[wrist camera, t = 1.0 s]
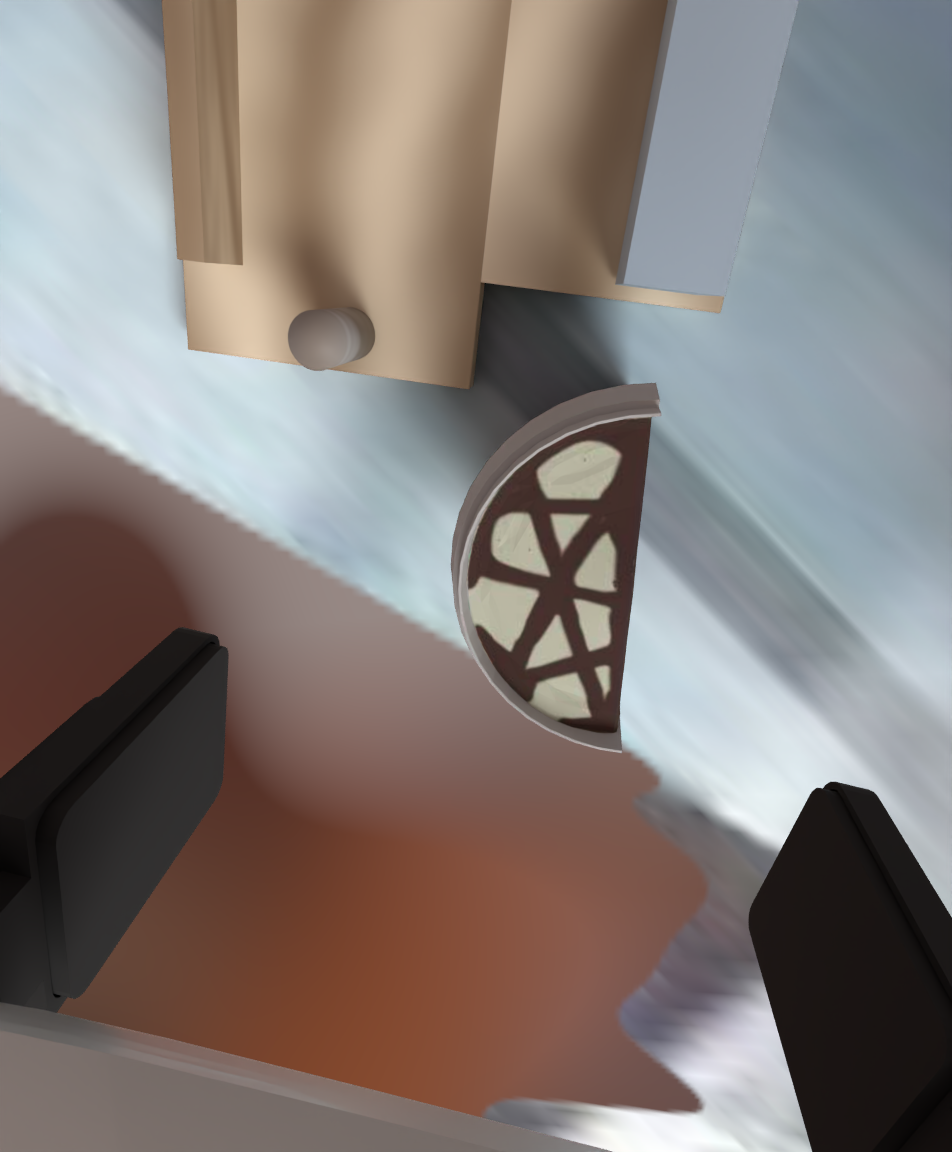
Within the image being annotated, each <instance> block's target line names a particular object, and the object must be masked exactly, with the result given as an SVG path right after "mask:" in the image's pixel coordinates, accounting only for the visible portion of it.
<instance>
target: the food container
mask: <svg viewBox="0 0 952 1152" xmlns="http://www.w3.org/2000/svg"><path fill="white" fill-rule="evenodd" d="M659 402H660V399H659V395H658V390H657V386H656V383H646V384H631V385H621V386H616V387H612V388H607V389H602V390H598V391H593V392H589V393H587V394H584V395H581V396H579V397H576V398H574V399H571V400H568V401H566V402H563V403H560V404H558V405H557V406H555V407H553V408H551V409H550V410H548V411H546V412H544V413H543V414H541V415H539V416H537V417H536V418H534V419H532V420H531V421H529V422H528V423H527V424H526V425H524V426H523V427H522V428H521V429H519V430H518V431H517V432H516V433H514V434H513V435H512V436H511V437H509V438H508V439H507V440H506V441H505V442H504V443H503V444H502V445H501V447H500V448H499V449H498V450H497V451H496V452H495V453H494V454H493V455H492V456H491V458H490V459H489V460H488V461H487V462H486V463H485V465H484V467H483V468H482V470H481V471H480V473H479V474H478V476H477V477H476V479H475V480H474V482H473V484H472V485H471V487H470V489H469V491H468V494H467V496H466V498H465V500H464V503H463V505H462V507H461V510H460V512H459V516H458V520H457V524H456V528H455V532H454V536H453V543H452V557H451V571H452V582H453V593H454V604H455V609H456V613H457V617H458V621H459V625H460V628H461V632H462V634H463V636H464V639H465V641H466V643H467V645H468V648H469V650H470V652H471V654H472V656H473V657H474V659H475V661H476V662H477V664H478V665H479V667H480V668H481V670H482V671H483V673H484V674H485V676H486V677H487V678H488V680H489V682H490V683H491V684H492V685H493V687H494V688H495V689H496V690H497V691H498V692H499V693H500V694H501V695H502V696H503V698H504V699H505V700H506V701H507V702H508V703H509V704H511V705H512V706H513V707H514V708H515V709H517V710H518V711H519V712H520V713H522V714H523V715H524V716H525V717H526V718H528V719H529V720H531V721H533V722H534V723H536V724H538V725H539V726H541V727H542V728H544V729H546V730H547V731H549V732H551V733H554V734H556V735H558V736H561V737H563V738H565V739H567V740H570V741H572V742H575V743H579V744H582V745H585V746H589V747H592V748H596V749H601V750H606V751H613V752H619V753H622V744H621V729H620V697H621V688H622V679H623V671H624V663H625V654H626V644H627V636H628V628H629V620H630V613H631V605H632V597H633V588H634V577H635V567H636V556H637V547H638V538H639V530H640V521H641V512H642V503H643V494H644V485H645V476H646V467H647V458H648V448H649V438H650V427H651V417H656V416H661V411H660V409H659Z"/></svg>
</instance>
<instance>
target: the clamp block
mask: <svg viewBox="0 0 952 1152" xmlns="http://www.w3.org/2000/svg"><path fill="white" fill-rule="evenodd" d="M798 2H799V0H668V3H667V8H666V14H665V19H664V24H663V30H662V35H661V40H660V46H659V51H658V57H657V62H656V67H655V73H654V78H653V84H652V89H651V94H650V100H649V105H648V110H647V116H646V121H645V127H644V132H643V137H642V143H641V148H640V153H639V159H638V164H637V170H636V175H635V180H634V186H633V191H632V197H631V202H630V207H629V213H628V218H627V223H626V229H625V234H624V240H623V245H622V250H621V256H620V261H619V266H618V272H617V277H616V283H615V285H622V286H630V287H637V288H645V289H653V290H661V291H669V292H677V293H685V294H692V295H705V296H725V295H726V291H727V287H728V283H729V279H730V275H731V271H732V267H733V263H734V259H735V255H736V251H737V247H738V243H739V239H740V235H741V231H742V227H743V223H744V219H745V215H746V211H747V207H748V203H749V199H750V195H751V191H752V187H753V183H754V179H755V175H756V171H757V167H758V163H759V159H760V155H761V151H762V147H763V143H764V139H765V135H766V131H767V127H768V123H769V119H770V115H771V111H772V107H773V103H774V99H775V95H776V91H777V87H778V83H779V79H780V75H781V71H782V67H783V63H784V59H785V55H786V51H787V47H788V43H789V39H790V35H791V31H792V27H793V22H794V18H795V14H796V10H797V6H798Z"/></svg>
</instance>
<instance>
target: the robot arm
mask: <svg viewBox="0 0 952 1152" xmlns="http://www.w3.org/2000/svg"><path fill="white" fill-rule="evenodd" d="M227 676H228V650H227V648H226V647H223V646H220V645H219V640H218V637H217V636H215V635H212V634H209V633H204V632H200V631H196V630H192V629H188V628H183V627H182V628H178V629H176V630H175V631H173V632H172V633H171V634H170V635H169V636H168V637H167V638H165V639H164V640H163V641H162V642H161V643H160V644H159V645H158V646H156V647H155V648H154V649H153V650H152V651H151V652H150V653H148V655H146V656H145V657H144V658H143V659H142V660H141V661H139V662H138V663H137V664H136V665H135V666H134V667H133V668H132V669H130V670H129V671H128V672H127V673H126V674H125V675H124V676H123V677H121V678H120V679H119V680H118V681H117V682H116V683H115V684H114V685H112V686H111V687H110V688H109V689H108V690H107V691H106V692H105V693H103V694H102V695H101V696H100V697H95V698H94V699H92V700H91V701H89V702H88V703H86V704H85V705H84V706H83V707H82V708H80V709H79V710H78V711H77V712H76V713H75V714H74V715H72V716H71V717H70V718H69V719H68V720H67V721H66V722H64V723H63V724H62V725H61V726H60V727H59V728H57V729H56V730H55V731H54V732H53V733H52V734H51V735H50V736H48V737H47V738H46V739H45V740H44V741H43V742H41V743H40V744H39V745H38V746H37V747H36V748H35V749H33V750H32V751H31V752H30V753H29V754H28V755H27V756H25V757H24V758H23V759H22V760H21V761H20V762H19V763H18V764H16V765H15V766H14V767H13V768H12V769H11V770H9V771H8V772H7V773H6V774H5V775H4V776H3V777H2V778H0V1152H612V1151H608V1150H605V1149H601V1148H597V1147H593V1146H589V1145H585V1144H581V1143H577V1142H574V1141H570V1140H566V1139H562V1138H558V1137H554V1136H550V1135H546V1134H543V1133H539V1132H535V1131H531V1130H527V1129H523V1128H519V1127H515V1126H512V1125H508V1124H504V1123H500V1122H496V1121H492V1120H488V1119H484V1118H481V1117H477V1116H473V1115H468V1114H465V1113H461V1112H457V1111H453V1110H449V1109H445V1108H441V1107H437V1106H433V1105H430V1104H426V1103H422V1102H418V1101H414V1100H410V1099H406V1098H403V1097H399V1096H394V1095H391V1094H387V1093H383V1092H379V1091H375V1090H371V1089H367V1088H363V1087H359V1086H355V1085H351V1084H347V1083H343V1082H339V1081H335V1080H331V1079H328V1078H324V1077H319V1076H316V1075H312V1074H308V1073H303V1072H299V1071H295V1070H292V1069H288V1068H284V1067H280V1066H276V1065H271V1064H268V1063H263V1062H259V1061H256V1060H252V1059H248V1058H244V1057H240V1056H236V1055H232V1054H228V1053H224V1052H220V1051H216V1050H212V1049H208V1048H204V1047H200V1046H196V1045H192V1044H188V1043H184V1042H180V1041H176V1040H172V1039H168V1038H164V1037H159V1036H155V1035H151V1034H146V1033H142V1032H138V1031H133V1030H129V1029H125V1028H120V1027H116V1026H112V1025H107V1024H103V1023H98V1022H94V1021H90V1020H85V1019H81V1018H77V1017H72V1016H68V1015H64V1014H59V1013H57V1012H58V1010H59V1009H60V1007H61V1006H62V1004H63V1003H64V1001H65V1000H66V998H67V997H69V998H73V999H76V998H78V997H79V996H80V995H82V994H83V992H85V990H86V989H87V988H88V986H89V985H90V983H91V982H92V981H93V979H94V977H95V976H96V975H97V973H98V972H99V970H100V969H101V967H102V966H103V964H104V963H105V961H106V960H107V958H108V957H109V955H110V954H111V952H112V951H113V949H114V948H115V947H116V945H117V944H118V942H119V941H120V939H121V938H122V936H123V935H124V933H125V932H126V930H127V929H128V927H129V926H130V924H131V923H132V922H133V920H134V919H135V917H136V916H137V914H138V913H139V911H140V910H141V908H142V907H143V905H144V904H145V902H146V901H147V899H148V898H149V897H150V895H151V894H152V892H153V891H154V889H155V887H156V886H157V885H158V883H159V882H160V880H161V879H162V877H163V876H164V874H165V873H166V871H167V870H168V869H169V867H170V866H171V864H172V863H173V861H174V860H175V858H176V857H177V855H178V854H179V852H180V851H181V849H182V848H183V846H184V845H185V843H186V842H187V841H188V839H189V838H190V836H191V835H192V833H193V832H194V830H195V829H196V827H197V826H198V824H199V823H200V821H201V820H202V818H203V817H204V815H205V814H206V813H207V811H208V810H209V808H210V807H211V805H212V804H213V802H214V801H215V799H216V797H217V795H218V793H219V790H220V788H221V784H222V780H223V768H224V766H223V765H224V744H225V722H226V699H227ZM749 930H750V935H751V938H752V942H753V945H754V949H755V952H756V956H757V959H758V963H759V966H760V970H761V973H762V977H763V980H764V984H765V987H766V991H767V994H768V998H769V1001H770V1005H771V1008H772V1012H773V1015H774V1019H775V1022H776V1026H777V1029H778V1033H779V1036H780V1040H781V1043H782V1047H783V1050H784V1054H785V1057H786V1061H787V1064H788V1068H789V1071H790V1075H791V1078H792V1082H793V1085H794V1089H795V1093H796V1096H797V1100H798V1103H799V1107H800V1110H801V1114H802V1117H803V1121H804V1124H805V1128H806V1131H807V1135H808V1138H809V1142H810V1145H811V1149H812V1152H952V917H951V916H950V914H949V912H948V911H947V909H946V907H945V906H944V904H943V903H942V901H941V899H940V898H939V896H938V894H937V893H936V891H935V889H934V888H933V886H932V884H931V883H930V881H929V880H928V878H927V876H926V875H925V873H924V871H923V870H922V868H921V866H920V865H919V863H918V862H917V860H916V858H915V857H914V855H913V853H912V852H911V850H910V848H909V847H908V845H907V844H906V842H905V840H904V839H903V837H902V835H901V834H900V832H899V830H898V829H897V827H896V825H895V824H894V822H893V821H892V819H891V817H890V816H889V814H888V812H887V811H886V809H885V807H884V806H883V804H882V803H881V801H880V799H879V798H878V796H877V795H876V794H875V793H874V792H872V791H870V790H868V789H863V788H859V787H855V786H851V785H847V784H842V783H838V782H829V783H828V784H826V785H825V786H824V788H823V789H822V788H816V789H815V790H813V791H812V793H811V794H810V796H809V798H808V800H807V802H806V804H805V805H804V807H803V809H802V811H801V813H800V815H799V817H798V819H797V820H796V822H795V824H794V826H793V828H792V830H791V832H790V834H789V836H788V837H787V839H786V841H785V843H784V845H783V847H782V849H781V851H780V852H779V854H778V856H777V858H776V860H775V862H774V864H773V866H772V868H771V869H770V871H769V873H768V875H767V877H766V879H765V881H764V883H763V884H762V886H761V888H760V890H759V892H758V894H757V896H756V898H755V899H754V901H753V903H752V906H751V908H750V912H749Z"/></svg>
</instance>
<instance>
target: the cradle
mask: <svg viewBox="0 0 952 1152" xmlns="http://www.w3.org/2000/svg"><path fill="white" fill-rule="evenodd" d="M667 3H668V0H162V11H163V27H164V44H165V60H166V77H167V94H168V110H169V127H170V143H171V160H172V177H173V193H174V210H175V226H176V243H177V259H180V260H183V266H184V284H185V301H186V319H187V336H188V349H189V350H196V351H203V352H210V353H217V354H225V355H232V356H239V357H246V358H253V359H260V360H267V361H274V362H281V363H288V364H295V365H302V366H304V367H306V368H308V369H311V370H315V371H322V370H326V369H330V370H337V371H344V372H351V373H358V374H365V375H372V376H379V377H386V378H393V379H400V380H407V381H414V382H421V383H428V384H435V385H442V386H449V387H456V388H463V389H470V388H471V387H472V386H473V383H474V374H475V365H476V357H477V348H478V339H479V330H480V321H481V312H482V303H483V294H484V285H485V283H491V284H498V285H506V286H514V287H522V288H529V289H537V290H545V291H553V292H560V293H568V294H576V295H584V296H591V297H599V298H607V299H615V300H622V301H630V302H638V303H646V304H653V305H661V306H669V307H676V308H684V309H692V310H700V311H707V312H715V313H720V312H721V308H722V304H723V300H724V296H705V295H692V294H685V293H677V292H669V291H661V290H653V289H645V288H637V287H630V286H622V285H615V283H616V277H617V272H618V266H619V261H620V256H621V250H622V245H623V240H624V234H625V229H626V223H627V218H628V213H629V207H630V202H631V197H632V191H633V186H634V180H635V175H636V170H637V164H638V159H639V153H640V148H641V143H642V137H643V132H644V127H645V121H646V116H647V110H648V105H649V100H650V94H651V89H652V84H653V78H654V73H655V67H656V62H657V57H658V51H659V46H660V40H661V35H662V30H663V24H664V19H665V14H666V8H667Z"/></svg>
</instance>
